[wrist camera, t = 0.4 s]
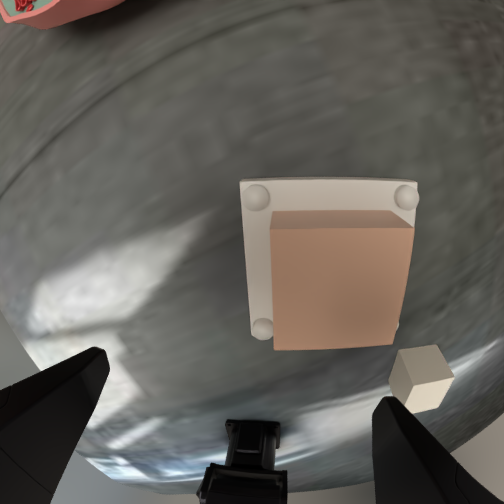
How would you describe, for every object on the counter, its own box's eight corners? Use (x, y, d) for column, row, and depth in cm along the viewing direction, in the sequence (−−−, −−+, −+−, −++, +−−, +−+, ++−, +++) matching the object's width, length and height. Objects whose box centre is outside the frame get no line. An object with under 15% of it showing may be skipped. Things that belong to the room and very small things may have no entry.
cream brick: (423, 374, 24) (437, 407, 20) (387, 380, 25) (399, 415, 20) (435, 343, 23) (454, 376, 18) (398, 349, 23) (413, 385, 19)
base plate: (390, 319, 22) (410, 361, 17) (253, 324, 23) (245, 370, 18) (408, 179, 18) (446, 193, 12) (242, 179, 19) (227, 192, 14)
